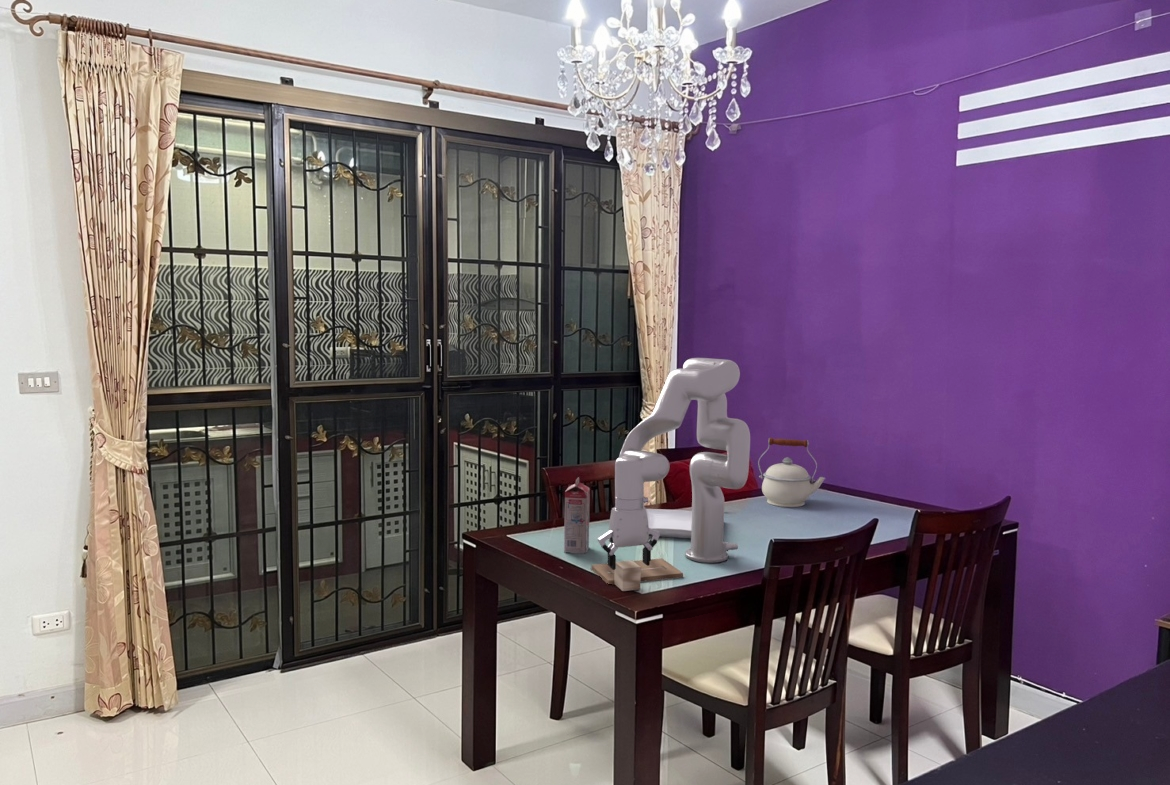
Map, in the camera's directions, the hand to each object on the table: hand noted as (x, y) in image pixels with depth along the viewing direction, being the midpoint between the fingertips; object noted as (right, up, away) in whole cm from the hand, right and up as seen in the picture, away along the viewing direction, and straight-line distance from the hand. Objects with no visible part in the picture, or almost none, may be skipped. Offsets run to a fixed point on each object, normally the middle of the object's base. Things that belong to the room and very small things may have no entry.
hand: (629, 566), depth 221 cm
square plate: (+20, -1, +59) cm, 63 cm away
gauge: (-2, -5, +3) cm, 6 cm away
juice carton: (-14, -2, +34) cm, 37 cm away
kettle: (+67, +3, +98) cm, 119 cm away
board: (+3, -5, +12) cm, 13 cm away
